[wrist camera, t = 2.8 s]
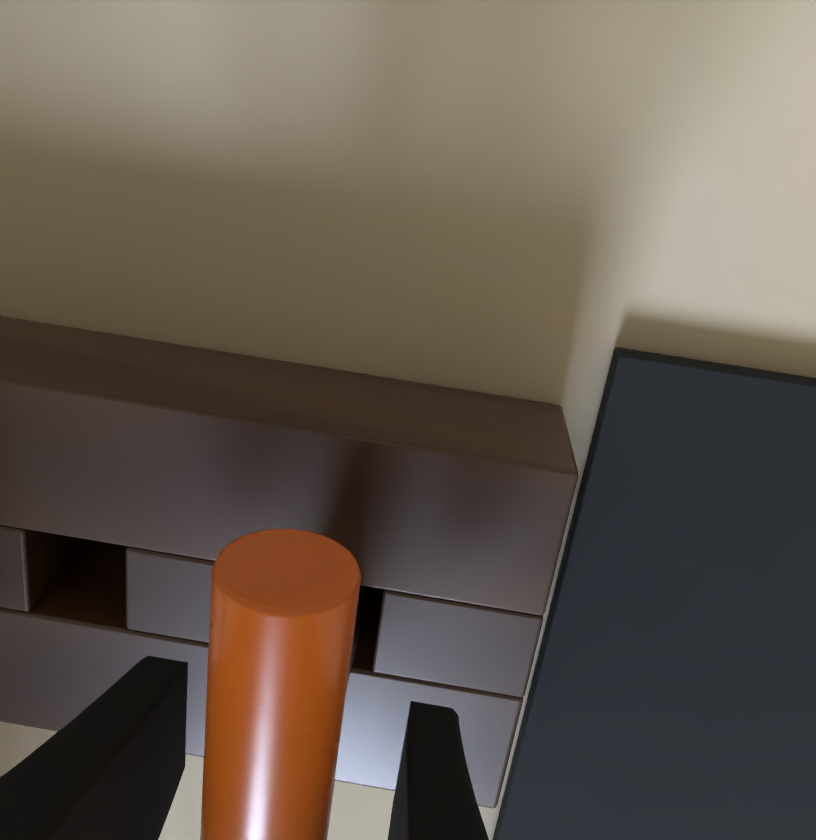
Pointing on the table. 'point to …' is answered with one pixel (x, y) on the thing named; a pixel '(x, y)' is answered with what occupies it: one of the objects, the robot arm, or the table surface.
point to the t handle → (277, 683)
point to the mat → (680, 619)
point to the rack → (271, 509)
